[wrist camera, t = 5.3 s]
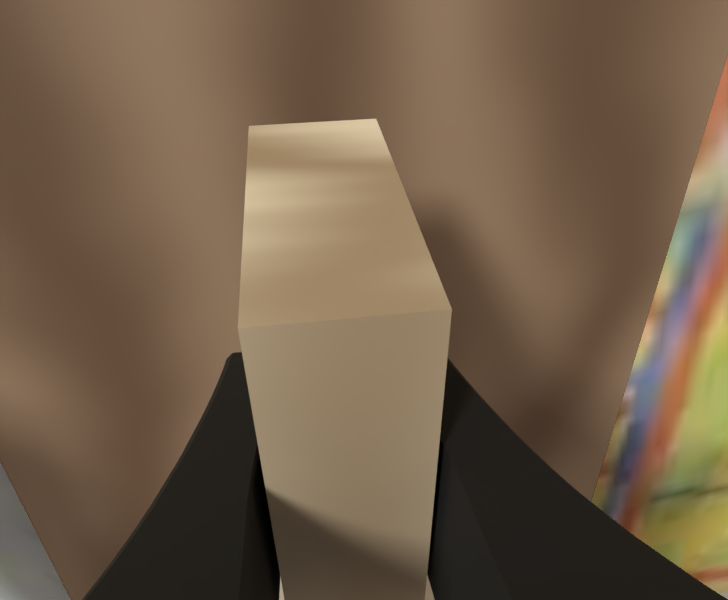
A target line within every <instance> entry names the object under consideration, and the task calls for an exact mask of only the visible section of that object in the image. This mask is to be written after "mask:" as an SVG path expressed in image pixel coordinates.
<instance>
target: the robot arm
mask: <svg viewBox="0 0 728 600" xmlns="http://www.w3.org/2000/svg"><path fill="white" fill-rule="evenodd" d="M427 575H428V579H429V582H430V585H431V589H432V592H433V596H434V599H435V600H728V599H726V598H724V597H723V596H721V595H720V594H718V593H716V592H715V591H713V590H712V589H710V588H709V587H707V586H706V585H704V584H703V583H701V582H700V581H698V580H697V579H695V578H694V577H692V576H691V575H689V574H688V573H687V572H685V571H684V570H682V569H681V568H679V567H678V566H677V565H675V564H674V563H672V562H671V561H669V560H668V559H666V558H665V557H664V556H662V555H661V554H659V553H658V552H656V551H655V550H654V549H652V548H651V547H649V546H648V545H646V544H645V543H644V542H642V541H641V540H639V539H638V538H636V537H635V536H634V535H632V534H631V533H630V532H628V531H627V530H626V529H625V528H623V527H622V526H621V525H619V524H618V523H617V522H616V521H614V520H613V519H612V518H610V517H609V516H608V515H606V514H605V513H604V512H603V511H601V510H600V509H599V508H598V507H597V506H595V505H594V504H593V503H592V502H590V501H589V500H588V499H587V498H586V497H584V496H583V495H582V494H581V493H580V492H578V491H577V490H576V489H575V488H574V487H573V486H571V485H570V484H569V483H568V482H567V481H566V480H565V479H563V478H562V477H561V476H560V475H559V474H558V473H557V472H556V471H554V470H553V469H552V468H551V467H550V466H549V465H548V464H547V463H546V462H545V461H544V460H543V459H542V458H540V457H539V456H538V455H537V454H536V453H535V452H534V451H533V450H532V449H531V448H530V447H529V446H528V445H527V444H526V443H525V442H524V441H523V440H522V439H521V438H520V437H519V436H518V435H517V434H516V433H515V432H514V431H513V430H512V429H511V428H510V427H509V426H508V425H507V424H506V423H505V422H504V421H503V420H502V419H501V418H500V416H499V415H498V414H497V413H496V412H495V411H494V410H493V409H492V408H491V407H490V406H489V405H488V404H487V403H486V402H485V400H484V399H483V398H482V397H481V396H480V395H479V394H478V393H477V392H476V390H475V389H474V388H473V387H472V386H471V385H470V383H469V382H468V381H467V380H466V379H465V378H464V376H463V375H462V374H461V373H460V372H459V370H458V369H457V368H456V367H455V366H454V364H453V363H452V362H451V361H450V359H449V358H447V369H446V379H445V390H444V400H443V411H442V422H441V432H440V443H439V454H438V464H437V475H436V486H435V496H434V507H433V517H432V528H431V539H430V549H429V560H428V571H427ZM279 593H280V571H279V565H278V559H277V553H276V547H275V542H274V536H273V530H272V524H271V518H270V513H269V507H268V501H267V495H266V489H265V484H264V478H263V472H262V466H261V460H260V455H259V449H258V443H257V437H256V431H255V426H254V420H253V414H252V408H251V403H250V397H249V391H248V385H247V379H246V374H245V368H244V362H243V356H242V352H236V353H232V354H231V355H230V356H229V357H228V358H227V359H226V362H225V365H224V368H223V370H222V373H221V375H220V378H219V380H218V383H217V385H216V387H215V390H214V392H213V394H212V396H211V398H210V401H209V403H208V405H207V407H206V409H205V411H204V413H203V415H202V417H201V419H200V421H199V423H198V425H197V427H196V428H195V430H194V432H193V434H192V436H191V438H190V440H189V442H188V443H187V445H186V447H185V449H184V451H183V453H182V455H181V456H180V458H179V460H178V462H177V463H176V465H175V467H174V468H173V470H172V471H171V473H170V475H169V476H168V478H167V480H166V481H165V483H164V485H163V486H162V488H161V489H160V491H159V493H158V494H157V496H156V498H155V499H154V501H153V503H152V504H151V506H150V507H149V509H148V510H147V512H146V513H145V515H144V516H143V518H142V519H141V521H140V522H139V524H138V525H137V527H136V528H135V530H134V531H133V532H132V534H131V535H130V537H129V538H128V540H127V541H126V542H125V544H124V545H123V547H122V548H121V549H120V551H119V552H118V553H117V555H116V556H115V558H114V559H113V560H112V562H111V563H110V564H109V566H108V567H107V568H106V570H105V571H104V572H103V574H102V575H101V576H100V577H99V579H98V580H97V581H96V583H95V584H94V585H93V586H92V588H91V589H90V590H89V591H88V593H87V594H86V595H85V596H84V598H83V599H82V600H279Z"/></svg>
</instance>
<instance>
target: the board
mask: <svg viewBox="0 0 728 600" xmlns="http://www.w3.org/2000/svg"><path fill="white" fill-rule="evenodd" d="M727 56H728V0H0V462H1V463H2V465H3V467H4V469H5V471H6V473H7V475H8V477H9V479H10V481H11V483H12V485H13V487H14V489H15V491H16V493H17V495H18V497H19V499H20V501H21V503H22V505H23V506H24V508H25V510H26V512H27V514H28V516H29V518H30V520H31V522H32V524H33V526H34V528H35V530H36V532H37V534H38V536H39V538H40V540H41V542H42V544H43V546H44V547H45V549H46V551H47V553H48V555H49V557H50V559H51V561H52V563H53V565H54V567H55V569H56V571H57V573H58V575H59V577H60V579H61V581H62V583H63V585H64V587H65V589H66V590H67V592H68V594H69V596H70V598H71V600H82V599H83V598H84V596H85V595H86V594H87V593H88V591H89V590H90V589H91V588H92V586H93V585H94V584H95V583H96V581H97V580H98V579H99V577H100V576H101V575H102V574H103V572H104V571H105V570H106V568H107V567H108V566H109V564H110V563H111V562H112V560H113V559H114V558H115V556H116V555H117V553H118V552H119V551H120V549H121V548H122V547H123V545H124V544H125V542H126V541H127V540H128V538H129V537H130V535H131V534H132V532H133V531H134V530H135V528H136V527H137V525H138V524H139V522H140V521H141V519H142V518H143V516H144V515H145V513H146V512H147V510H148V509H149V507H150V506H151V504H152V503H153V501H154V499H155V498H156V496H157V494H158V493H159V491H160V489H161V488H162V486H163V485H164V483H165V481H166V480H167V478H168V476H169V475H170V473H171V471H172V470H173V468H174V467H175V465H176V463H177V462H178V460H179V458H180V456H181V455H182V453H183V451H184V449H185V447H186V445H187V443H188V442H189V440H190V438H191V436H192V434H193V432H194V430H195V428H196V427H197V425H198V423H199V421H200V419H201V417H202V415H203V413H204V411H205V409H206V407H207V405H208V403H209V401H210V398H211V396H212V394H213V392H214V390H215V387H216V385H217V383H218V380H219V378H220V375H221V373H222V370H223V368H224V365H225V362H226V359H227V358H228V357H229V356H230V355H231V354H232V353H236V352H242V350H241V345H240V339H239V333H238V314H239V296H240V278H241V259H242V241H243V223H244V205H245V186H246V168H247V150H248V131H249V126H256V125H273V124H290V123H308V122H325V121H342V120H360V119H376V120H377V122H378V125H379V127H380V130H381V132H382V135H383V137H384V140H385V142H386V145H387V147H388V150H389V152H390V155H391V157H392V160H393V162H394V165H395V167H396V170H397V172H398V175H399V177H400V180H401V182H402V185H403V187H404V190H405V192H406V195H407V197H408V200H409V202H410V205H411V207H412V210H413V213H414V215H415V218H416V220H417V223H418V225H419V228H420V230H421V233H422V235H423V238H424V240H425V243H426V245H427V248H428V250H429V253H430V255H431V258H432V260H433V263H434V265H435V268H436V270H437V273H438V275H439V278H440V280H441V283H442V285H443V288H444V290H445V293H446V295H447V298H448V301H449V303H450V306H451V308H452V315H451V326H450V337H449V347H448V358H449V359H450V361H451V362H452V363H453V364H454V366H455V367H456V368H457V369H458V370H459V372H460V373H461V374H462V375H463V376H464V378H465V379H466V380H467V381H468V382H469V383H470V385H471V386H472V387H473V388H474V389H475V390H476V392H477V393H478V394H479V395H480V396H481V397H482V398H483V399H484V400H485V402H486V403H487V404H488V405H489V406H490V407H491V408H492V409H493V410H494V411H495V412H496V413H497V414H498V415H499V416H500V418H501V419H502V420H503V421H504V422H505V423H506V424H507V425H508V426H509V427H510V428H511V429H512V430H513V431H514V432H515V433H516V434H517V435H518V436H519V437H520V438H521V439H522V440H523V441H524V442H525V443H526V444H527V445H528V446H529V447H530V448H531V449H532V450H533V451H534V452H535V453H536V454H537V455H538V456H539V457H540V458H542V459H543V460H544V461H545V462H546V463H547V464H548V465H549V466H550V467H551V468H552V469H553V470H554V471H556V472H557V473H558V474H559V475H560V476H561V477H562V478H563V479H565V480H566V481H567V482H568V483H569V484H570V485H571V486H573V487H574V488H575V489H576V490H577V491H578V492H580V493H581V494H582V495H583V496H584V497H586V498H587V499H588V500H589V501H590V502H591V500H592V497H593V494H594V490H595V487H596V484H597V480H598V477H599V474H600V471H601V467H602V464H603V461H604V458H605V454H606V451H607V448H608V445H609V441H610V438H611V435H612V431H613V428H614V425H615V422H616V418H617V415H618V412H619V409H620V405H621V402H622V399H623V396H624V392H625V389H626V386H627V382H628V379H629V376H630V373H631V369H632V366H633V363H634V360H635V356H636V353H637V350H638V347H639V343H640V340H641V337H642V334H643V330H644V327H645V324H646V320H647V317H648V314H649V311H650V307H651V304H652V301H653V298H654V294H655V291H656V288H657V285H658V281H659V278H660V275H661V271H662V268H663V265H664V262H665V258H666V255H667V252H668V249H669V245H670V242H671V239H672V236H673V232H674V229H675V226H676V222H677V219H678V216H679V213H680V209H681V206H682V203H683V200H684V196H685V193H686V190H687V187H688V183H689V180H690V177H691V174H692V170H693V167H694V164H695V160H696V157H697V154H698V151H699V147H700V144H701V141H702V138H703V134H704V131H705V128H706V125H707V121H708V118H709V115H710V111H711V108H712V105H713V102H714V98H715V95H716V92H717V89H718V85H719V82H720V79H721V76H722V72H723V69H724V66H725V62H726V59H727Z"/></svg>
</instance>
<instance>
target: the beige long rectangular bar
mask: <svg viewBox="0 0 728 600" xmlns="http://www.w3.org/2000/svg"><path fill="white" fill-rule="evenodd" d="M451 315H452V308H451V306H450V303H449V301H448V298H447V295H446V293H445V290H444V288H443V285H442V283H441V280H440V278H439V275H438V273H437V270H436V268H435V265H434V263H433V260H432V258H431V255H430V253H429V250H428V248H427V245H426V243H425V240H424V238H423V235H422V233H421V230H420V228H419V225H418V223H417V220H416V218H415V215H414V213H413V210H412V207H411V205H410V202H409V200H408V197H407V195H406V192H405V190H404V187H403V185H402V182H401V180H400V177H399V175H398V172H397V170H396V167H395V165H394V162H393V160H392V157H391V155H390V152H389V150H388V147H387V145H386V142H385V140H384V137H383V135H382V132H381V130H380V127H379V125H378V122H377V120H376V119H360V120H342V121H325V122H308V123H290V124H273V125H256V126H249V131H248V150H247V168H246V186H245V205H244V223H243V241H242V259H241V278H240V296H239V314H238V333H239V339H240V345H241V350H242V356H243V362H244V368H245V374H246V379H247V385H248V391H249V397H250V403H251V408H252V414H253V420H254V426H255V431H256V437H257V443H258V449H259V455H260V460H261V466H262V472H263V478H264V484H265V489H266V495H267V501H268V507H269V513H270V518H271V524H272V530H273V536H274V542H275V547H276V553H277V559H278V565H279V571H280V576H281V582H282V588H283V594H284V600H425V592H426V581H427V571H428V560H429V549H430V539H431V528H432V517H433V507H434V496H435V486H436V475H437V464H438V454H439V443H440V432H441V422H442V411H443V400H444V390H445V379H446V369H447V358H448V347H449V337H450V326H451Z"/></svg>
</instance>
